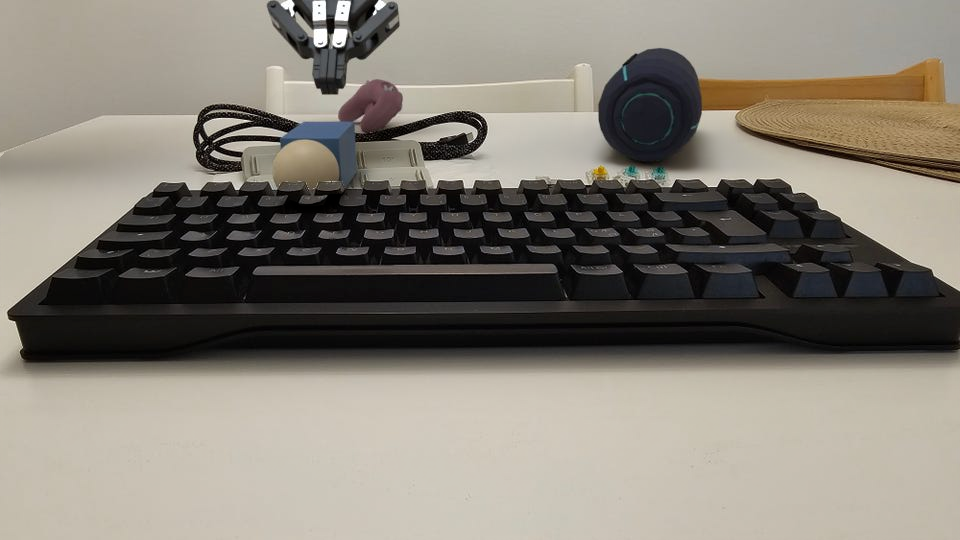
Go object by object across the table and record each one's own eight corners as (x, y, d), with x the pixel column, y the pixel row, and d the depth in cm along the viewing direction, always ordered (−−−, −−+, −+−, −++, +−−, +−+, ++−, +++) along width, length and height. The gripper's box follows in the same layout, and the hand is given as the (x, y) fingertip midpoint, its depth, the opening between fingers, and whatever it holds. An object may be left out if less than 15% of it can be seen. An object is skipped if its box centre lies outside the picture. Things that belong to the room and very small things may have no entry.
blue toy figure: (305, 173, 64) (268, 212, 52) (301, 119, 62) (261, 145, 50) (359, 173, 64) (335, 212, 52) (356, 119, 63) (331, 145, 50)
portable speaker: (613, 125, 90) (620, 45, 86) (693, 129, 87) (703, 47, 84) (589, 166, 67) (596, 59, 63) (696, 173, 65) (709, 63, 61)
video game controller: (392, 145, 84) (415, 91, 83) (359, 131, 81) (382, 75, 80) (364, 132, 92) (384, 83, 91) (333, 119, 89) (354, 68, 88)
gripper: (264, -84, 66) (243, 60, 59) (403, -82, 66) (398, 61, 59) (282, -22, 73) (265, 114, 66) (407, -20, 73) (404, 114, 66)
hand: (328, 89), depth 62 cm, fingers closed
